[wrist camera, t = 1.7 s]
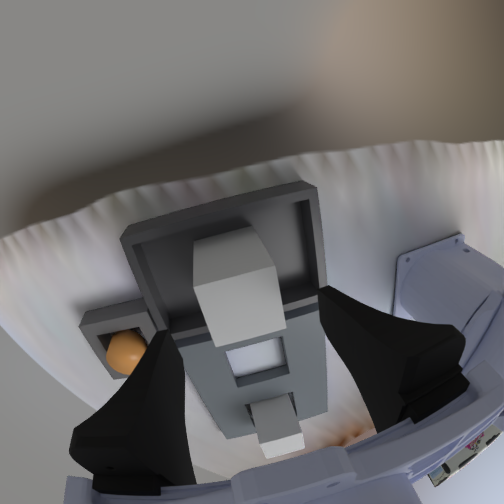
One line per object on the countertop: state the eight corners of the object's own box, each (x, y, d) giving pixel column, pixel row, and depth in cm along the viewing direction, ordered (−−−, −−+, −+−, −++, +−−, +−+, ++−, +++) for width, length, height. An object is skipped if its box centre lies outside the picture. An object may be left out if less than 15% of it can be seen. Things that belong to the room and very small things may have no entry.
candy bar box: (382, 405, 34) (433, 489, 19) (389, 384, 32) (449, 476, 17) (438, 377, 35) (491, 445, 20) (447, 356, 33) (508, 427, 18)
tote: (302, 180, 19) (316, 187, 17) (315, 281, 22) (328, 298, 20) (128, 225, 18) (119, 238, 16) (166, 321, 22) (165, 342, 19)
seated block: (285, 386, 27) (302, 432, 22) (289, 406, 29) (304, 448, 24) (248, 396, 27) (259, 444, 22) (255, 415, 29) (266, 458, 23)
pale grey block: (252, 225, 19) (275, 265, 14) (263, 277, 21) (286, 328, 15) (193, 241, 19) (193, 287, 13) (209, 291, 20) (215, 347, 15)
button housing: (150, 296, 20) (146, 311, 19) (177, 352, 23) (176, 369, 21) (85, 311, 20) (78, 326, 18) (117, 363, 22) (113, 379, 21)
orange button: (137, 326, 20) (133, 343, 18) (153, 354, 21) (150, 371, 19) (104, 333, 20) (98, 349, 18) (121, 359, 21) (117, 376, 19)
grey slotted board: (317, 300, 23) (323, 308, 22) (324, 404, 30) (327, 411, 29) (175, 339, 22) (174, 348, 21) (225, 431, 29) (226, 439, 28)
